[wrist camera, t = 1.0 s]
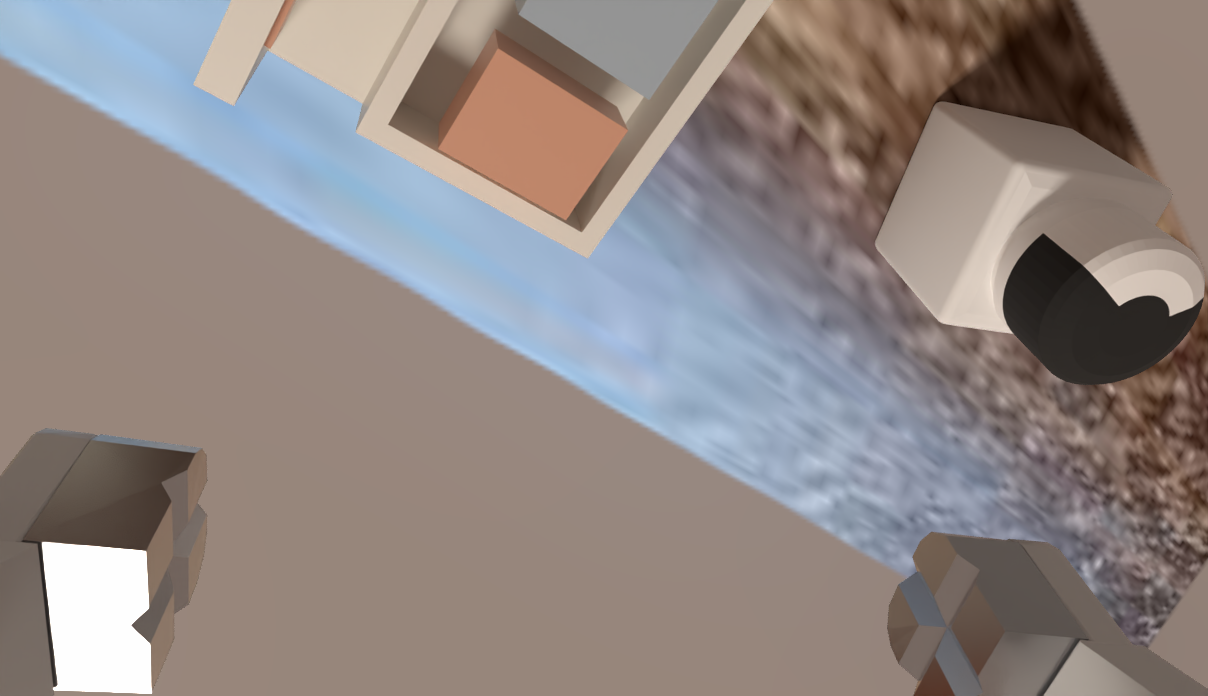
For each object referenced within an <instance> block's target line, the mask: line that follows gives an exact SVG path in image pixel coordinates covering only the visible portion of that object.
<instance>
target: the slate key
mask: <svg viewBox="0 0 1208 696" xmlns="http://www.w3.org/2000/svg"><path fill="white" fill-rule="evenodd" d="M717 2H718V0H515V3H516V7H517V11H518V14H519V15H520V16H522V17H523V18H525V19H526V20H528V21H529V22H531V23H532V24H534V25H535V26H537V27H538V28H540V29H541V30H543V31H544V32H546V33H548V34H549V35H551V36H552V37H554V38H555V39H557V40H558V41H560V42H561V43H563V44H564V45H566V46H567V47H569V48H570V49H572V50H574V51H575V52H577V53H578V54H580V55H581V56H583V57H584V58H586V59H587V60H589V61H590V62H592V63H593V64H595V65H596V66H598V67H599V68H601V69H603V70H604V71H606V72H607V73H609V74H610V75H612V76H613V77H615V78H616V79H618V80H619V81H621V82H622V83H624V84H625V85H627V86H629V87H630V88H632V89H633V90H635V91H636V92H638V93H639V94H641V95H642V96H644V97H645V98H647V99H648V100H650V98H651V97H652V95H653V94H654V93H655V91H656V90H657V88H658V87H659V85H660V84H661V82H662V81H663V80H664V78H665V77H666V75H667V74H668V72H669V71H670V69H671V68H672V67H673V65H674V64H675V62H676V61H677V59H678V58H679V56H680V55H681V54H682V52H683V51H684V49H685V48H686V46H687V45H688V43H689V42H690V41H691V39H692V38H693V36H694V35H695V33H696V32H697V30H698V29H699V28H700V26H701V25H702V23H703V22H704V20H705V19H706V17H707V16H708V15H709V13H710V12H711V10H712V9H713V7H714V6H715V4H716V3H717Z"/></svg>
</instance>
